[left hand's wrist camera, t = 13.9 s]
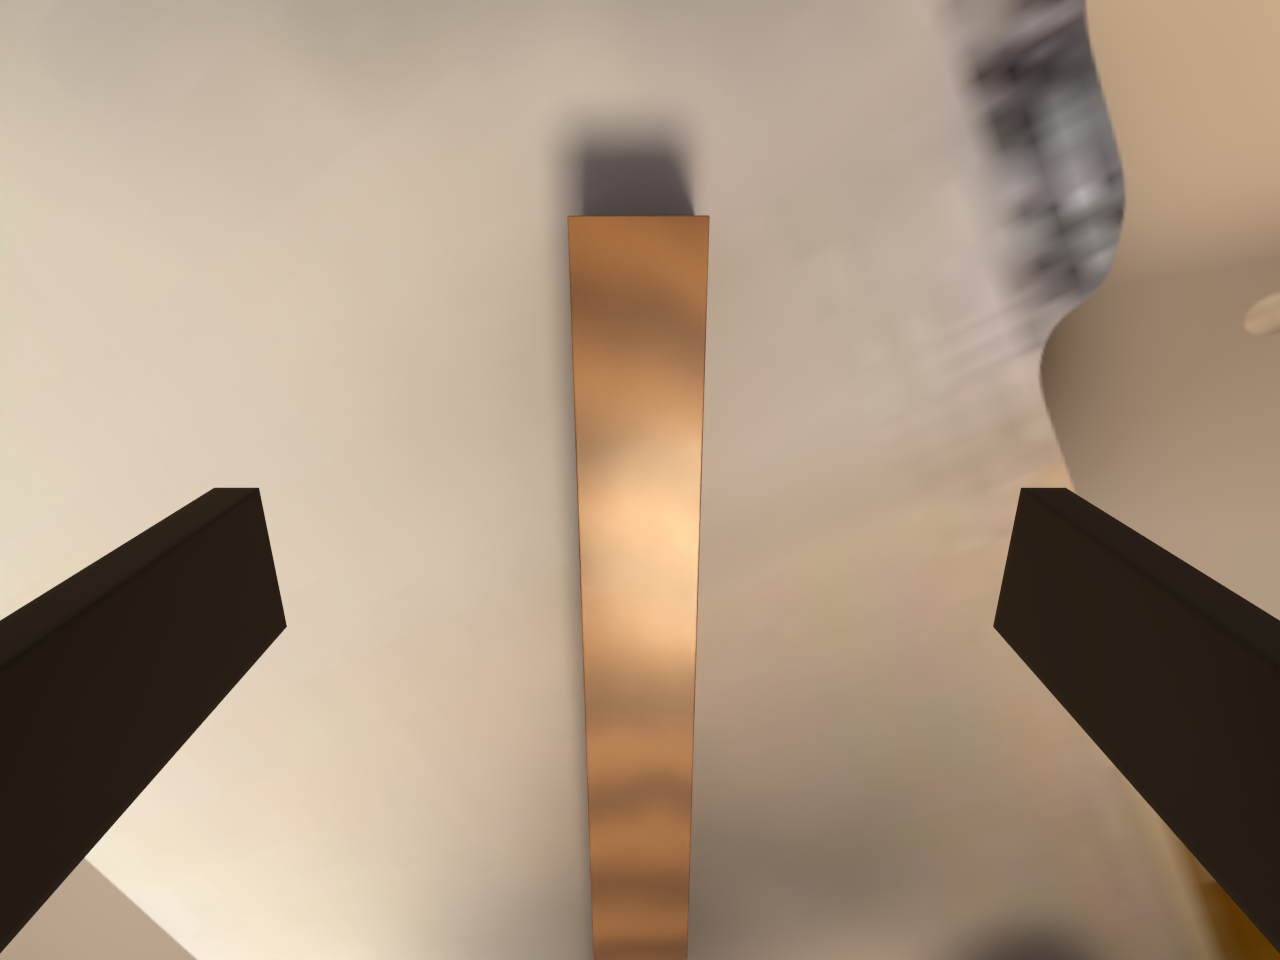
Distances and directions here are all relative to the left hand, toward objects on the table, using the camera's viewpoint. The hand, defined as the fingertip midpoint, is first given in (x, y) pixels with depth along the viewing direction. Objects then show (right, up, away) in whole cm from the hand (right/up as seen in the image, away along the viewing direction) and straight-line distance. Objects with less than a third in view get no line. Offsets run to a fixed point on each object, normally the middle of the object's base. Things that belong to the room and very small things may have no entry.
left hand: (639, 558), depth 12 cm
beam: (0, -20, +37) cm, 42 cm away
